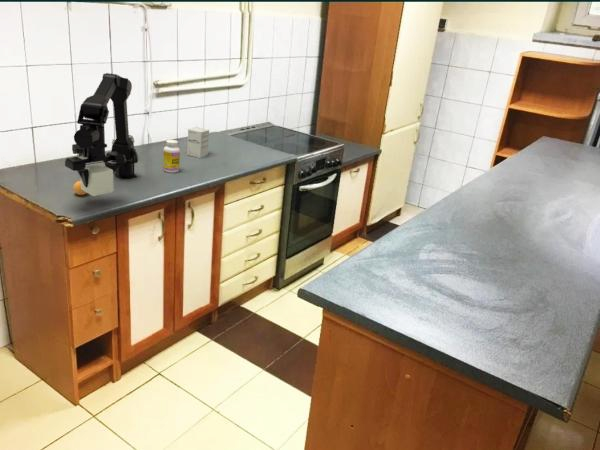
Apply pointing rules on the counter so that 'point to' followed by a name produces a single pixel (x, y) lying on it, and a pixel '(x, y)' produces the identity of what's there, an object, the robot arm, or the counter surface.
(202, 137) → the supplement box
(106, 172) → the sage green cuboid
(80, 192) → the ball
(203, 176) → the counter surface
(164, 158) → the supplement bottle
